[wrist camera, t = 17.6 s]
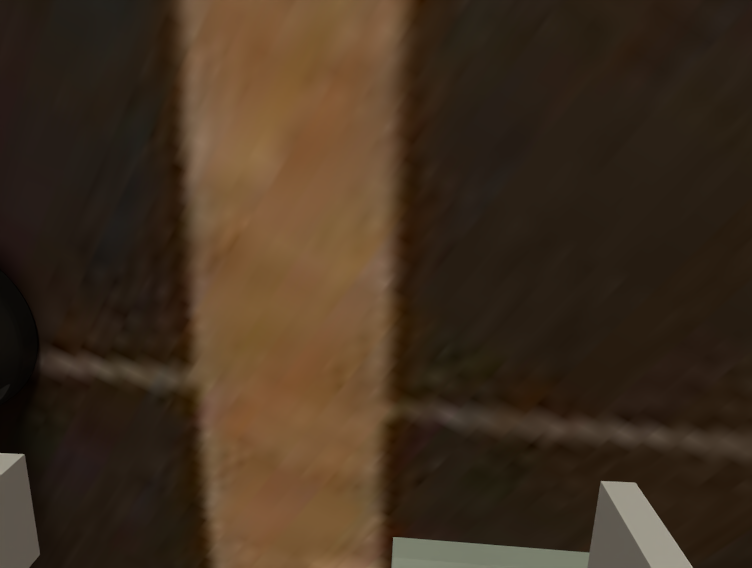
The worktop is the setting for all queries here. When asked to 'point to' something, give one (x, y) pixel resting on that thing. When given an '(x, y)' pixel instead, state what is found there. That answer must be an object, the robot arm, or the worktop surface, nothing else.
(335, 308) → the worktop surface
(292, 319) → the worktop surface
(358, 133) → the worktop surface
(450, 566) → the tray
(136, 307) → the worktop surface
